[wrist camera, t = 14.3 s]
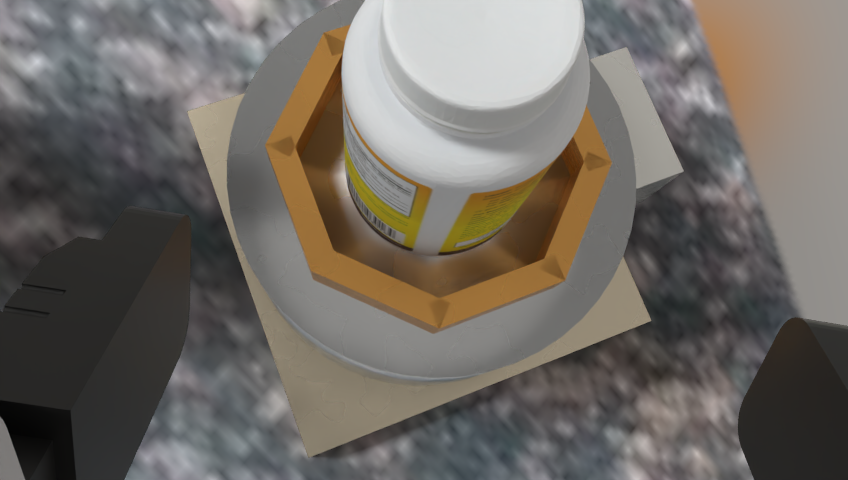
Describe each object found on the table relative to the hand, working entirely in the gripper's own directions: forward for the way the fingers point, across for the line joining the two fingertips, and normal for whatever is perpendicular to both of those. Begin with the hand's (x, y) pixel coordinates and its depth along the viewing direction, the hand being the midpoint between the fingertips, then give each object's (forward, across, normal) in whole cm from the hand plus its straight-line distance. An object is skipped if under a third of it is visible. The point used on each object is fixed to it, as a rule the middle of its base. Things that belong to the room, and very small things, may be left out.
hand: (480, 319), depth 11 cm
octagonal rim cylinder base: (+19, 0, +10) cm, 22 cm away
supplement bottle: (+14, 0, +5) cm, 15 cm away
